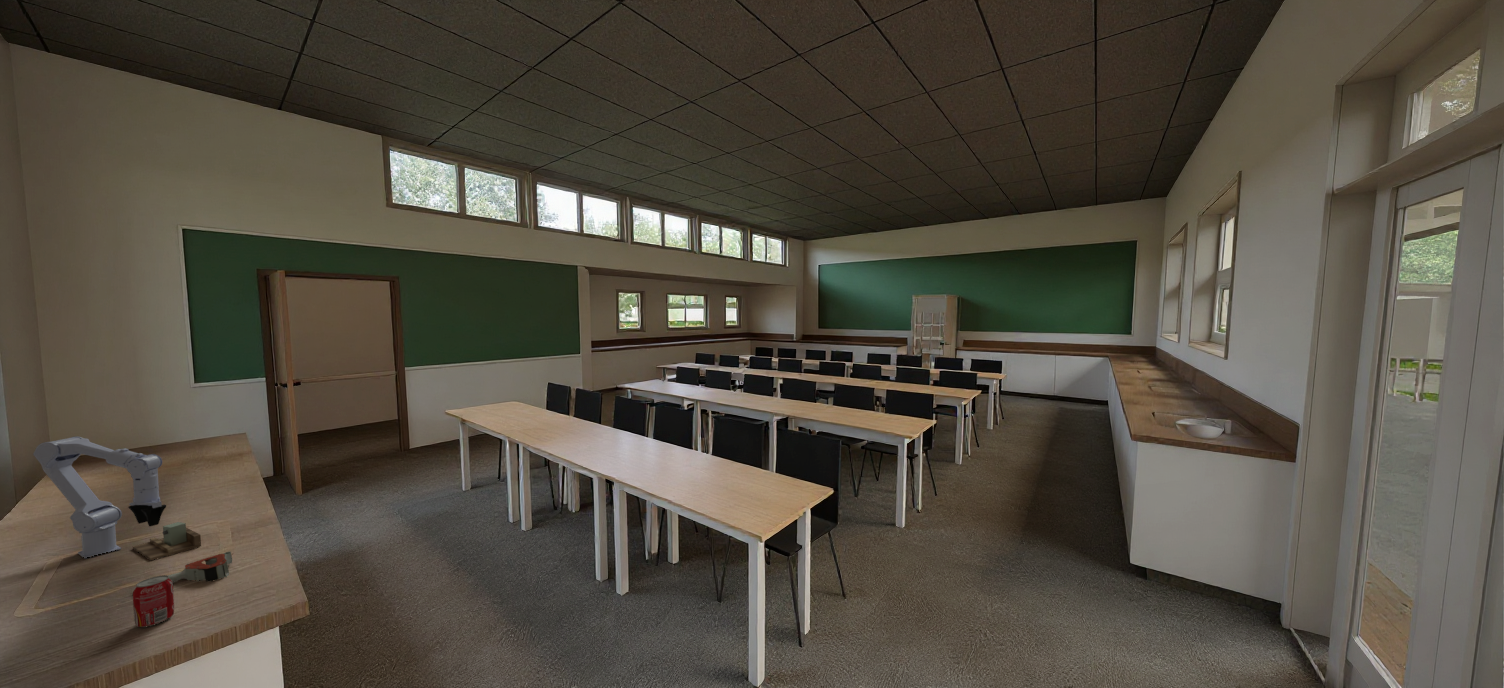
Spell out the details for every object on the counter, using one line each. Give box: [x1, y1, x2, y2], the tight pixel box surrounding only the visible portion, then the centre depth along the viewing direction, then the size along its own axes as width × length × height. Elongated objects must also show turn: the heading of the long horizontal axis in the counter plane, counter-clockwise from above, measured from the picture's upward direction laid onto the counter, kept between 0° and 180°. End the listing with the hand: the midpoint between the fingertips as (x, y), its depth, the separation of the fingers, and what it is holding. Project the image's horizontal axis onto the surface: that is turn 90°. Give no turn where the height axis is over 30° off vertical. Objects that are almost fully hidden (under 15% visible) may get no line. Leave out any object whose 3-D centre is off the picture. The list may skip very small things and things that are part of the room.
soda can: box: [132, 574, 175, 628], centre depth 133 cm, size 7×7×12 cm
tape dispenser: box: [167, 550, 233, 583], centre depth 156 cm, size 18×5×20 cm
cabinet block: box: [162, 521, 187, 546], centre depth 178 cm, size 4×5×7 cm
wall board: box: [132, 527, 202, 561], centre depth 177 cm, size 20×12×4 cm, turn 64°
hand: (148, 523), depth 176 cm, fingers open, 7 cm apart
